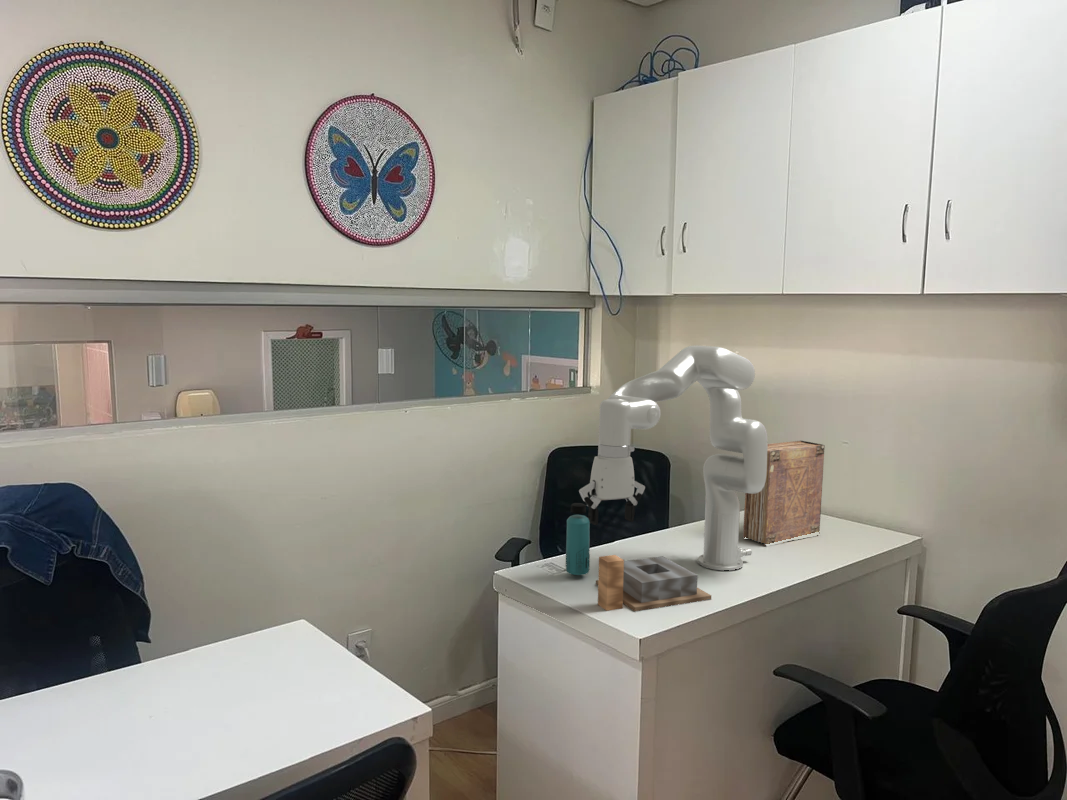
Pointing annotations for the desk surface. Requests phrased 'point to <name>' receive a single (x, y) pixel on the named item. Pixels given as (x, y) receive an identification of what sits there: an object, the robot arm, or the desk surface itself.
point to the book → (787, 494)
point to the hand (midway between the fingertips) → (611, 522)
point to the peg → (610, 582)
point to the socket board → (658, 584)
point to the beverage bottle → (577, 541)
